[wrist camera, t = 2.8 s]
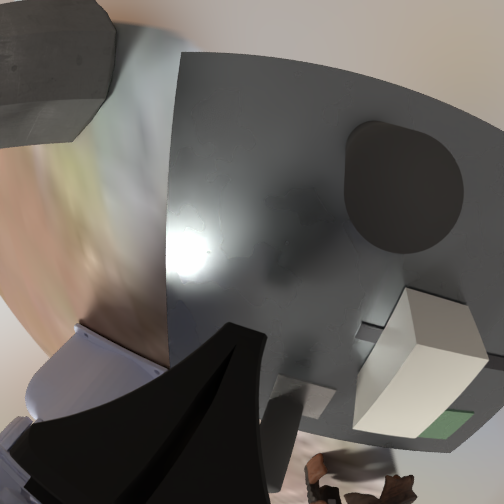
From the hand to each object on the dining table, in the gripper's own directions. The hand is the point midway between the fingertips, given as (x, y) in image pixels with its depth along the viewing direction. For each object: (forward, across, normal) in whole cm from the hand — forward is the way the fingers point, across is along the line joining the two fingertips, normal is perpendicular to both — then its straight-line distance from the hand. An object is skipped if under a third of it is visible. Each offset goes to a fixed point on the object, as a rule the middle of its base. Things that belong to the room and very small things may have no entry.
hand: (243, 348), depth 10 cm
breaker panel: (+5, -5, 0) cm, 7 cm away
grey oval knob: (+3, -2, +7) cm, 8 cm away
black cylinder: (+3, -2, -7) cm, 8 cm away
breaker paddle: (+3, -6, 0) cm, 7 cm away
